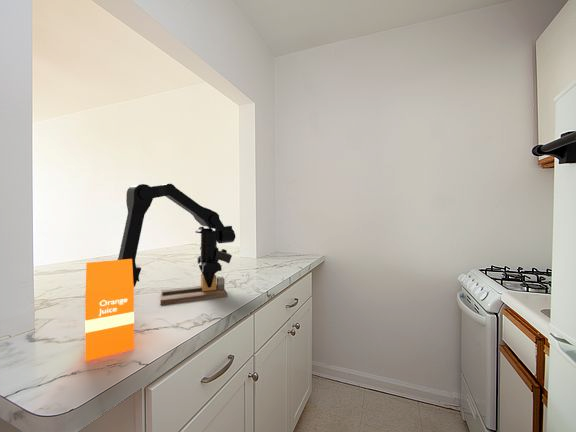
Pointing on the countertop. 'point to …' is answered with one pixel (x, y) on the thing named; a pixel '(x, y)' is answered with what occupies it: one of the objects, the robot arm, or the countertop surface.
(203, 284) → the block
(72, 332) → the countertop surface
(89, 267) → the orange juice
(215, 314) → the countertop surface
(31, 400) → the countertop surface
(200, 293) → the track
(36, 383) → the countertop surface
